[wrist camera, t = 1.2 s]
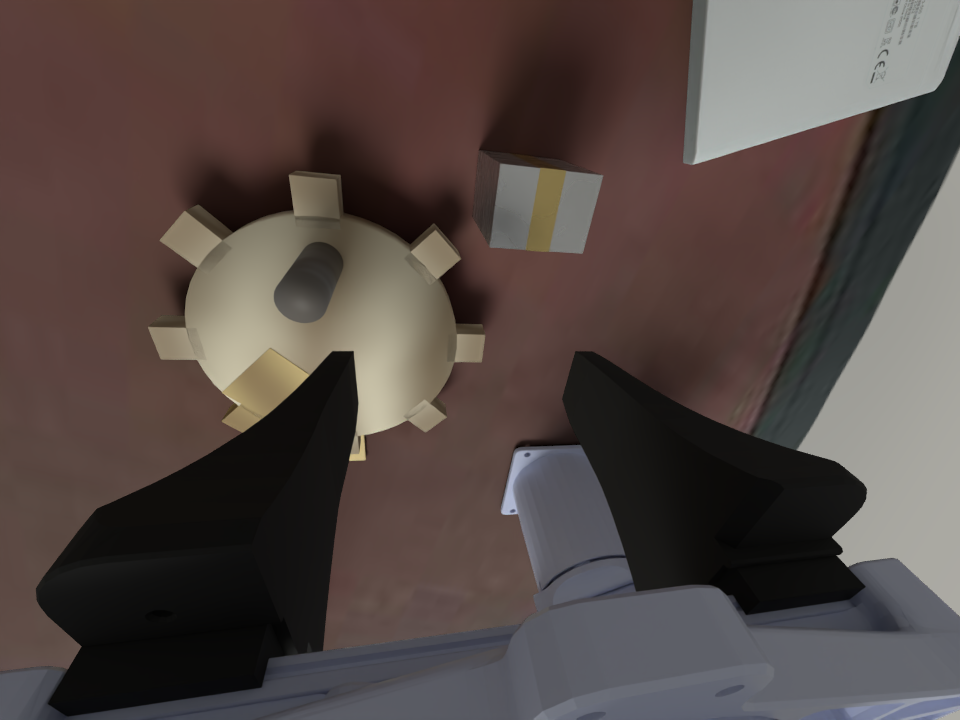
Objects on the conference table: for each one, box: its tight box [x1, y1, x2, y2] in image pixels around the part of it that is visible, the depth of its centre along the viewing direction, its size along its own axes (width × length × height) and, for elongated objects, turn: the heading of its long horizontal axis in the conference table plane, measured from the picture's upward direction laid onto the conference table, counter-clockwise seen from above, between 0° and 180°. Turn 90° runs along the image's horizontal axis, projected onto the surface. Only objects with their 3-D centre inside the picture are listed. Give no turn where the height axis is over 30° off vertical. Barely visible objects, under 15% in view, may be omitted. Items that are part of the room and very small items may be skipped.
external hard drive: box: [683, 0, 960, 165], centre depth 17 cm, size 2×8×12 cm
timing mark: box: [349, 435, 366, 461], centre depth 26 cm, size 2×3×1 cm, turn 173°
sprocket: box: [148, 171, 485, 454], centre depth 18 cm, size 16×16×5 cm
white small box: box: [472, 150, 603, 254], centre depth 17 cm, size 4×3×5 cm
